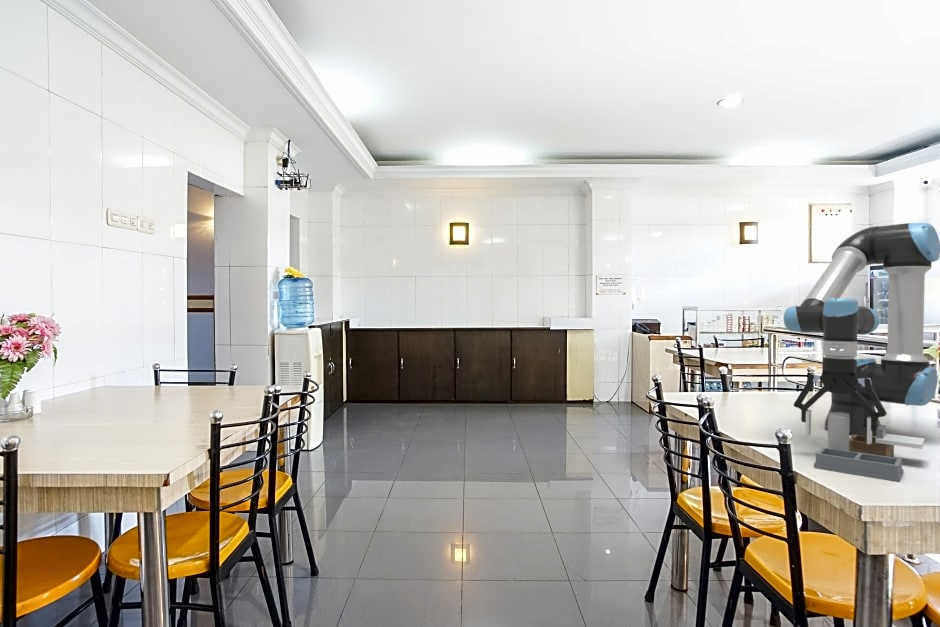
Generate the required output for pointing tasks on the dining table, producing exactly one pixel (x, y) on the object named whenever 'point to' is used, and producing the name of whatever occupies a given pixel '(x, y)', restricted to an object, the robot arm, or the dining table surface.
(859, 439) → the tray
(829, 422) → the beverage can
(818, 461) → the socket board
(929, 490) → the dining table surface
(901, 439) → the lid
